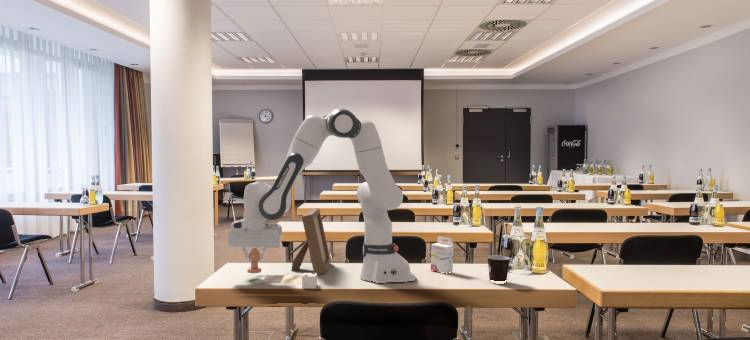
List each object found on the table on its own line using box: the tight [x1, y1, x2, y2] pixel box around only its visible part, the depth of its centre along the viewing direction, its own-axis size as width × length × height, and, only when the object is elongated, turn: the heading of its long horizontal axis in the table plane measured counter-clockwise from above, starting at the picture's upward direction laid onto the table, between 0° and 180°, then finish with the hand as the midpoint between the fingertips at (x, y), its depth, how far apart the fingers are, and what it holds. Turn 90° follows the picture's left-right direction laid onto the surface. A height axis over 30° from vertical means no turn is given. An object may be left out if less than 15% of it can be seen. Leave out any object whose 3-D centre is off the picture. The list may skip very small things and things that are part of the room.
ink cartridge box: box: [430, 235, 454, 274], centre depth 213 cm, size 9×5×15 cm, turn 49°
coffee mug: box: [487, 254, 511, 281], centre depth 196 cm, size 12×9×10 cm
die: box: [301, 272, 318, 289], centre depth 185 cm, size 5×5×5 cm
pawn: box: [247, 247, 262, 274], centre depth 194 cm, size 5×5×9 cm
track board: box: [242, 274, 303, 284], centre depth 195 cm, size 23×14×1 cm, turn 92°
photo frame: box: [291, 208, 332, 275], centre depth 214 cm, size 15×22×25 cm
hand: (254, 258), depth 194 cm, fingers closed on pawn, 4 cm apart
